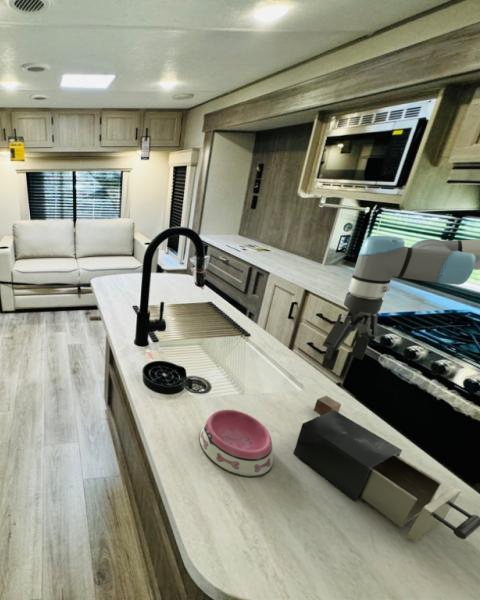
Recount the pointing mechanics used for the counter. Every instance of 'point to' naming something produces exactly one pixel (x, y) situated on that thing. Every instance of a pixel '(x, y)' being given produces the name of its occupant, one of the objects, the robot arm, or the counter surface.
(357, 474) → the cabinet
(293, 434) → the counter surface
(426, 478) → the drawer
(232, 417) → the dog bowl
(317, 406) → the block
